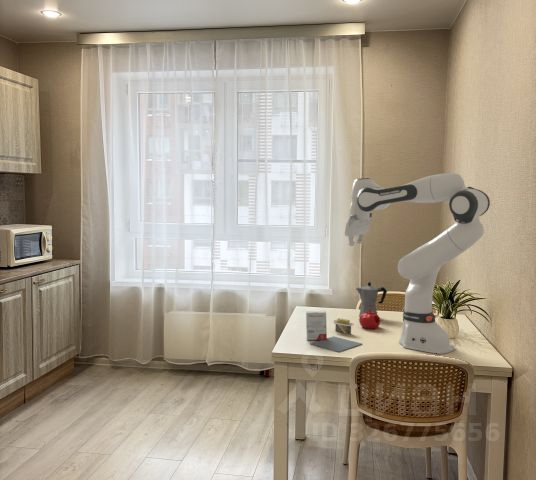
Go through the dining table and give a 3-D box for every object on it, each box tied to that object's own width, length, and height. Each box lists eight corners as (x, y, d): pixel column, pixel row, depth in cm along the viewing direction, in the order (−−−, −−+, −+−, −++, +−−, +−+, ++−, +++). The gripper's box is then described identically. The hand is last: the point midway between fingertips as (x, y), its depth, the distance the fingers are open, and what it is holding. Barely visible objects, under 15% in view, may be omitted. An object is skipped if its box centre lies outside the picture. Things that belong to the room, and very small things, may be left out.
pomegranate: (358, 329, 255) (358, 310, 254) (359, 324, 264) (359, 305, 263) (380, 331, 252) (380, 311, 251) (380, 325, 262) (381, 306, 261)
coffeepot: (356, 319, 274) (357, 283, 272) (354, 315, 283) (355, 280, 281) (387, 320, 273) (388, 284, 271) (384, 315, 282) (385, 281, 280)
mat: (362, 344, 230) (362, 343, 230) (338, 352, 219) (338, 351, 218) (333, 337, 240) (333, 336, 240) (310, 344, 229) (310, 343, 229)
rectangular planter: (353, 340, 238) (353, 325, 237) (318, 332, 249) (318, 318, 248) (366, 334, 248) (366, 320, 247) (331, 327, 258) (332, 313, 258)
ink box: (326, 337, 239) (326, 310, 238) (326, 340, 234) (326, 312, 233) (306, 337, 240) (306, 310, 239) (306, 340, 235) (306, 312, 234)
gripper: (356, 217, 235) (353, 248, 237) (373, 213, 252) (370, 243, 255) (343, 214, 238) (339, 246, 240) (360, 211, 255) (357, 240, 258)
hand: (355, 244), depth 248 cm, fingers open, 8 cm apart
